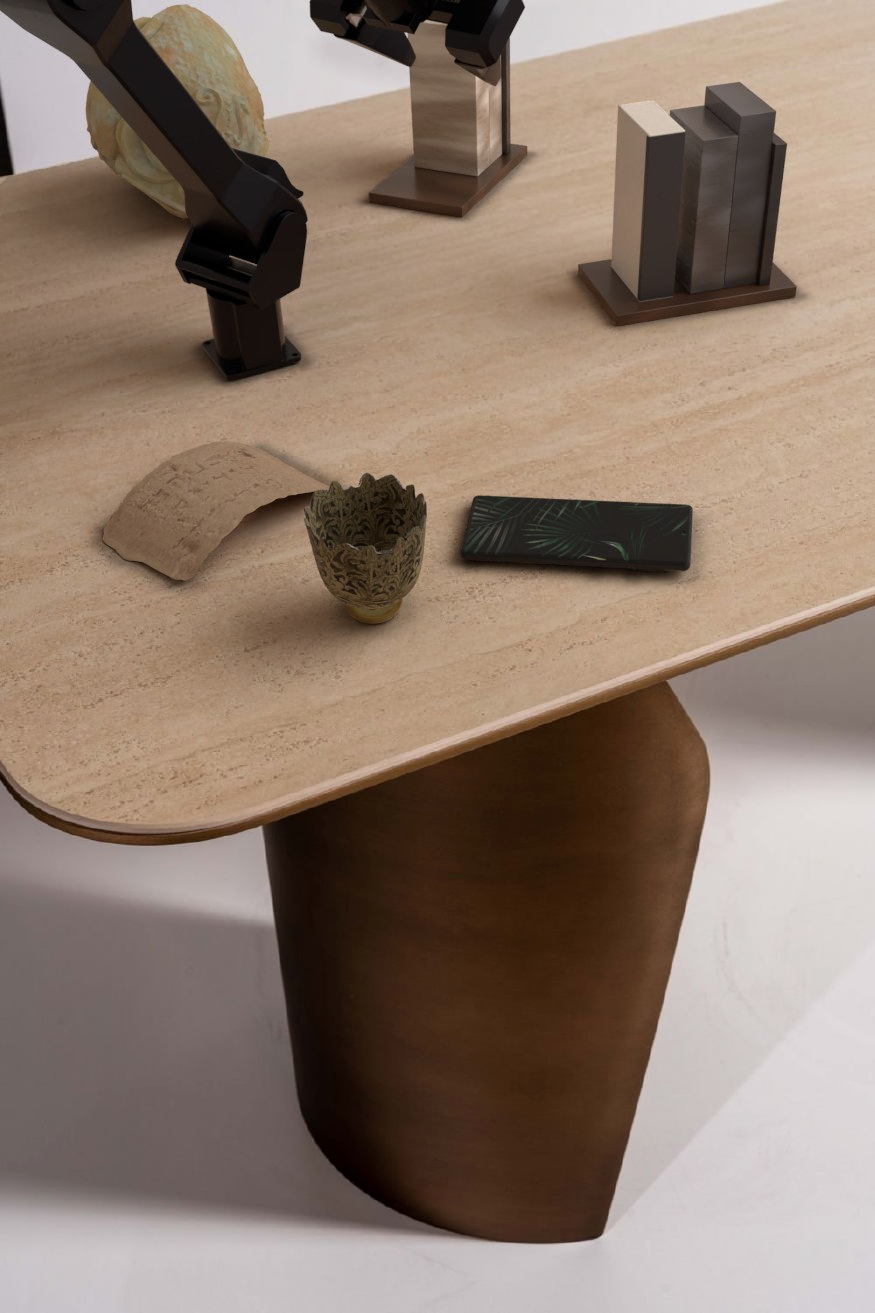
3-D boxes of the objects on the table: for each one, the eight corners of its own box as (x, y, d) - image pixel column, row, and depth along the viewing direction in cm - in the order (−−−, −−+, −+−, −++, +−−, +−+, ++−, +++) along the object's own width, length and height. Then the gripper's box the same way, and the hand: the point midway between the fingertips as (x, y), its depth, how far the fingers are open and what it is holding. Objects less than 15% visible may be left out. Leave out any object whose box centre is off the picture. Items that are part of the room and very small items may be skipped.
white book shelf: (462, 217, 134) (457, 53, 124) (368, 202, 138) (357, 42, 128) (527, 155, 145) (527, 0, 135) (439, 142, 149) (433, -10, 139)
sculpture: (46, 226, 139) (143, 201, 124) (44, 11, 137) (143, -41, 121) (201, 247, 150) (308, 226, 135) (202, 49, 148) (312, 5, 132)
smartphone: (473, 493, 98) (693, 503, 96) (473, 505, 99) (692, 515, 96) (458, 552, 93) (690, 564, 91) (459, 565, 94) (689, 576, 91)
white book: (639, 302, 118) (649, 135, 109) (610, 266, 123) (617, 104, 114) (673, 297, 118) (686, 130, 109) (643, 261, 124) (653, 99, 114)
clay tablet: (190, 591, 92) (183, 558, 91) (93, 534, 98) (85, 502, 96) (344, 492, 100) (341, 460, 99) (247, 445, 106) (242, 413, 104)
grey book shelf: (616, 326, 117) (625, 140, 107) (577, 274, 124) (582, 95, 114) (795, 296, 120) (821, 112, 110) (747, 247, 127) (766, 70, 117)
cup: (330, 658, 87) (318, 554, 82) (304, 588, 92) (291, 486, 87) (446, 633, 88) (441, 528, 83) (415, 565, 94) (408, 463, 88)
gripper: (519, -132, 105) (586, 7, 119) (329, -157, 114) (411, -26, 128) (451, -1, 104) (526, 123, 118) (265, -37, 113) (355, 82, 127)
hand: (454, 71), depth 123 cm, fingers open, 9 cm apart
